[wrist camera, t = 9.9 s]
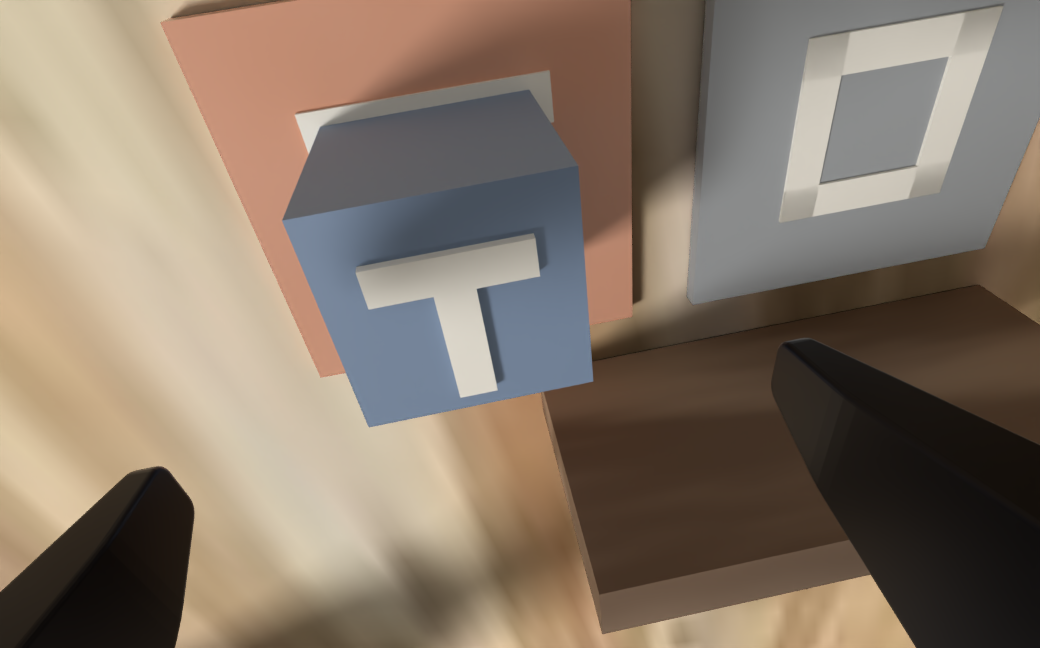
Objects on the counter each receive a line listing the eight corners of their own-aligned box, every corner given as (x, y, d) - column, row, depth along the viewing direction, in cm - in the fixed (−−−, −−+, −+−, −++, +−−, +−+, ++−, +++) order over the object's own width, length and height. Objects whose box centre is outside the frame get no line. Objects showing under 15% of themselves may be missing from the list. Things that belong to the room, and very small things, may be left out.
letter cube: (549, 267, 17) (595, 387, 12) (379, 300, 16) (368, 434, 12) (529, 89, 14) (580, 169, 9) (320, 126, 13) (279, 226, 9)
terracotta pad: (627, 308, 19) (633, 318, 18) (322, 367, 18) (320, 379, 18) (623, -56, 13) (632, -54, 12) (168, 18, 12) (158, 23, 12)
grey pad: (972, 241, 19) (986, 249, 19) (686, 296, 19) (693, 306, 18) (1124, -136, 13) (1151, -138, 13) (710, -69, 13) (721, -68, 12)
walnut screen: (960, 328, 22) (1188, 503, 15) (543, 412, 21) (602, 634, 15) (979, 284, 21) (1234, 455, 14) (538, 372, 20) (599, 594, 13)
